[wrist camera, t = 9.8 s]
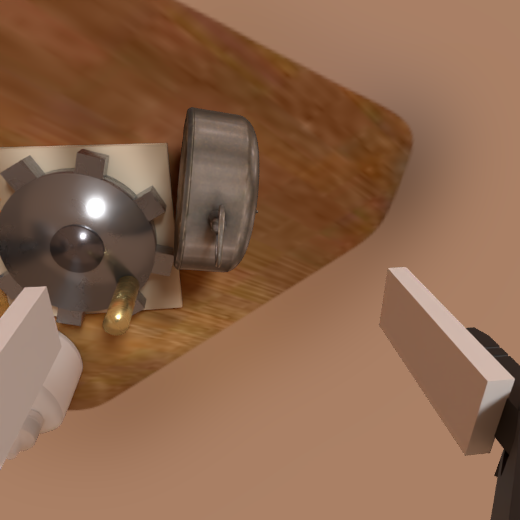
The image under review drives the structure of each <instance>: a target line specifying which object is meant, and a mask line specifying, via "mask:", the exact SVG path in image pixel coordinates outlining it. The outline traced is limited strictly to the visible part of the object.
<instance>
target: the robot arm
mask: <svg viewBox="0 0 520 520" xmlns="http://www.w3.org/2000/svg"><path fill="white" fill-rule="evenodd" d="M379 325H380V327H381V329H382V330H383V332H384V333H385V335H386V336H387V338H388V339H389V340H390V342H391V344H392V345H393V347H394V348H395V350H396V351H397V353H398V354H399V356H400V357H401V359H402V360H403V362H404V363H405V365H406V366H407V368H408V370H409V371H410V373H411V374H412V375H413V377H414V378H415V380H416V382H417V383H418V385H419V386H420V388H421V389H422V391H423V392H424V394H425V395H426V397H427V398H428V400H429V401H430V403H431V404H432V406H433V407H434V409H435V410H436V412H437V413H438V415H439V417H440V418H441V420H442V421H443V423H444V424H445V426H446V427H447V429H448V430H449V432H450V433H451V435H452V436H453V438H454V439H455V441H456V442H457V444H458V445H459V447H460V448H461V450H462V451H463V453H464V454H465V456H466V455H475V454H484V453H490V451H491V448H492V445H493V442H494V439H495V438H496V439H497V440H498V441H499V443H500V444H501V445H502V447H503V448H504V450H503V453H502V456H501V459H500V461H499V464H498V467H497V470H496V472H495V476H497V477H498V478H497V485H496V491H495V496H494V503H493V509H492V515H491V520H520V366H519V365H518V364H517V363H516V362H515V361H514V360H513V359H512V358H511V357H510V356H508V354H507V353H506V352H505V351H504V350H503V349H502V348H500V347H499V345H498V344H497V343H496V342H495V341H494V340H493V339H492V338H491V337H490V336H488V335H487V334H485V333H483V332H481V331H479V330H478V329H476V328H465V327H464V326H463V325H462V324H461V323H460V322H459V321H458V320H457V319H456V318H455V317H454V316H453V315H452V314H451V313H450V312H449V311H448V310H447V309H446V308H445V307H444V306H443V305H442V304H441V303H440V302H439V301H438V299H437V298H435V296H434V295H432V293H431V292H430V291H429V290H428V289H427V288H426V287H425V286H424V285H423V284H422V283H421V282H420V281H419V280H418V279H417V278H416V277H415V276H414V275H413V274H412V273H411V272H410V271H409V270H408V269H407V268H406V267H401V268H400V267H399V268H388V270H387V277H386V284H385V291H384V298H383V304H382V311H381V317H380V324H379ZM61 347H62V346H61V342H60V338H59V334H58V330H57V326H56V322H55V318H54V314H53V310H52V306H51V302H50V298H49V294H48V290H47V286H43V287H25V288H24V289H23V290H22V292H21V293H20V294H19V295H18V297H17V298H16V299H15V300H14V302H13V303H12V304H11V305H10V307H9V308H8V309H7V310H6V312H5V313H4V314H3V315H2V317H1V318H0V470H1V468H2V466H3V464H4V462H5V460H6V458H7V456H8V454H9V452H10V450H11V448H12V446H13V444H14V442H15V440H16V438H17V435H18V433H19V431H20V429H21V427H22V425H23V423H24V421H25V419H26V417H27V415H28V413H29V411H30V409H31V407H32V405H33V403H34V401H35V399H36V397H37V395H38V393H39V391H40V389H41V387H42V385H43V383H44V381H45V379H46V377H47V375H48V373H49V371H50V369H51V367H52V365H53V363H54V361H55V359H56V357H57V355H58V353H59V351H60V349H61Z"/></svg>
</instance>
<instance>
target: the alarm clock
mask: <svg viewBox="0 0 520 520" xmlns="http://www.w3.org/2000/svg"><path fill="white" fill-rule="evenodd" d="M258 186H259V150H258V142H257V138H256V134H255V131H254V128H253V126H252V125H251V123H250V122H249V121H248V120H247V119H246V118H244V117H243V116H240V115H235V114H229V113H223V112H217V111H210V110H204V109H198V108H193V107H191V108H189V109H188V110H187V114H186V119H185V125H184V132H183V142H182V149H181V158H180V168H179V180H178V191H177V204H176V219H175V231H174V267H175V268H176V269H177V270H180V269H185V270H199V271H212V272H228V271H231V270H232V269H234V268H235V267H236V266H237V265H238V264H239V263H240V261H241V260H242V258H243V257H244V255H245V252H246V250H247V247H248V244H249V241H250V237H251V233H252V229H253V224H254V219H255V213H258V210H256V206H257V198H258Z"/></svg>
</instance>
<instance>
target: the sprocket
mask: <svg viewBox="0 0 520 520" xmlns="http://www.w3.org/2000/svg"><path fill="white" fill-rule="evenodd" d="M108 162H109V155H106V154H102V153H98V152H94V151H90V150H86V149H81V150H80V151H78V152H77V155H76V163H75V168H63V169H57V170H52V171H49V172H46V173H44V172H43V170H42V169H41V168H40V167H39V166H38V164H37V163H36V162H35V161H34V159H33V158H32V157H31V156H30V155H29V156H27V157H26V158H24V159H22V160H20V161H19V162H17V163H15V164H14V165H12V166H11V167H9V168H7V169H6V170H4V171H2V172H1V173H0V174H1V176H2V177H3V178H4V179H5V180H6V181H7V182H8V184H9V185H10V186H11V187H12V188H13V189H14V191H15V192H14V193H13V194H12V195H11V196H10V198H9V199H8V200H7V202H6V203H5V204H4V206H3V208H2V210H1V211H0V256H1V259H2V261H3V263H4V265H5V267H6V269H7V271H5V272H3V273H2V274H1V275H0V288H1V289H2V290H3V291H4V292H5V293H6V294H7V295H8V296H9V297H10V298H11V299H12V300H13V299H15V298H16V297H18V295H19V294H20V293H21V292H22V290H23V289H24V288H25V287H43V286H47V290H48V294H49V298H50V302H51V305H52V306H55V307H58V312H57V320H56V322H58V323H65V324H71V325H77V326H81V324H82V322H83V319H84V317H85V313H86V312H90V311H100V310H104V309H108V310H107V313H106V315H105V318H104V321H103V328H104V330H105V331H106V332H107V333H109V334H111V335H122V334H124V333H125V332H126V331H127V330H128V328H129V324H130V320H131V317H132V315H134V314H136V313H137V312H139V311H141V310H143V309H145V304H146V300H147V299H146V298H145V297H144V296H143V294H142V293H141V292H140V291H139V290H140V289H141V288H142V287H143V286H144V284H145V283H146V281H147V280H148V278H149V276H150V274H151V273H154V274H159V275H164V276H170V273H171V269H172V265H173V261H174V248H173V247H168V246H163V245H159V244H157V233H156V228H155V224H154V221H153V219H154V218H156V217H157V216H159V215H161V214H163V213H164V212H165V211H166V207H167V205H166V204H165V202H164V201H163V199H162V198H161V197H160V195H159V194H158V192H157V191H156V189H155V188H154V186H153V185H152V186H151V187H149V188H147V189H145V190H144V191H142V192H140V193H139V194H137V195H136V194H135V193H134V192H133V191H132V190H131V189H130V188H128V187H127V186H126V185H124V184H123V183H121V182H120V181H118V180H116V179H115V178H113V177H110V176H108V175H107V168H108Z"/></svg>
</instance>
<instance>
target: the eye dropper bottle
mask: <svg viewBox="0 0 520 520" xmlns="http://www.w3.org/2000/svg"><path fill="white" fill-rule="evenodd" d="M58 334H59V338H60V342H61V346H62V347H61V349H60V351H59V353H58V355H57V357H56V359H55V361H54V363H53V365H52V367H51V369H50V371H49V373H48V375H47V377H46V379H45V381H44V383H43V385H42V387H41V389H40V391H39V393H38V395H37V397H36V399H35V401H34V403H33V405H32V407H31V409H30V411H29V413H28V415H27V417H26V419H25V421H24V423H23V425H22V427H21V429H20V431H19V433H18V435H17V438H16V440H15V442H14V444H13V446H12V448H11V450H10V452H9V454H8V456H7V459H14V458H15V457H16V456H17V454H18V453H19V452H20V451H25V450H28V449H30V448H31V447H33V446H34V444H35V442H36V440H37V438H38V435H39V434H40V433H46V432H49V431H52V430H54V429H56V428H58V427H59V426H60V425H61V424H62V422H63V419H64V417H65V415H66V412H67V410H68V407H69V405H70V402H71V399H72V397H73V394H74V392H75V389H76V386H77V384H78V381H79V379H80V376H81V373H82V370H83V363H82V359H81V356H80V353H79V351H78V349H77V348H76V346H75V345H74V344H73V343H72V342H71V341H70V340H69V339H68V338H67V337H66V336H65V335H63V334H62V333H61V332H59V331H58Z"/></svg>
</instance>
